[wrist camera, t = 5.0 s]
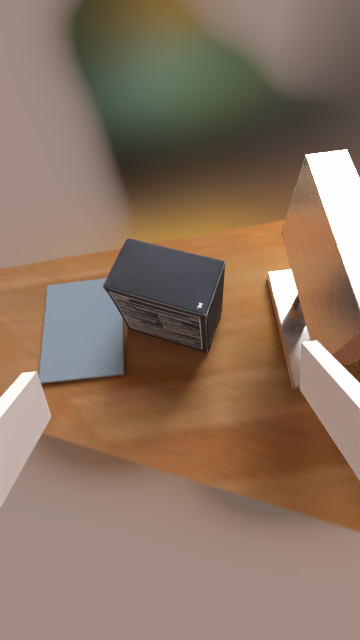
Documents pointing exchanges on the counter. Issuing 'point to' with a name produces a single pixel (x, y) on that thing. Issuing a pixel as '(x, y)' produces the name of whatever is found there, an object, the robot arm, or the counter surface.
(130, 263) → the small box
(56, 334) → the mat
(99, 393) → the counter surface
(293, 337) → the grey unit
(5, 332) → the counter surface
